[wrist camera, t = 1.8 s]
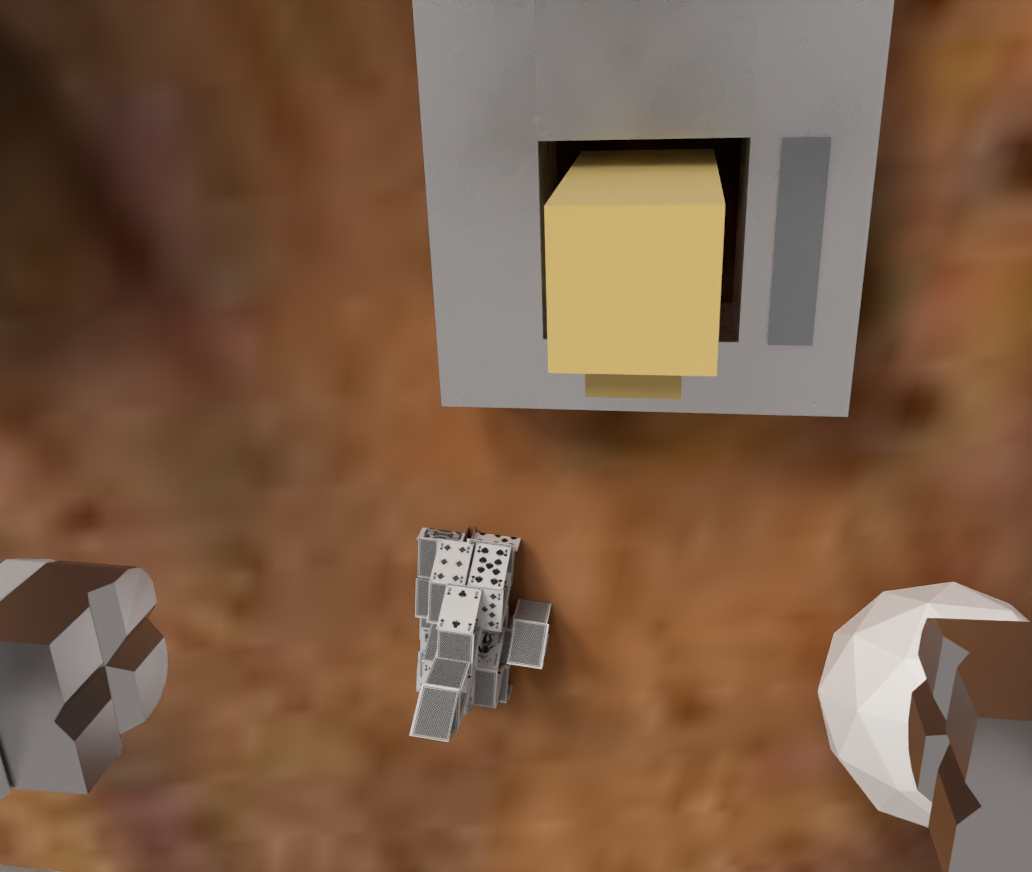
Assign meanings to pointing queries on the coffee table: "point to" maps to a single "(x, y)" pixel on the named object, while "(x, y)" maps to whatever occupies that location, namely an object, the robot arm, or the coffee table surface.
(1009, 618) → the geometric ball
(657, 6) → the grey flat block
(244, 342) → the coffee table surface
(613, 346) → the plug
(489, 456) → the coffee table surface
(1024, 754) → the robot arm
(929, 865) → the coffee table surface
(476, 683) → the house of cards
